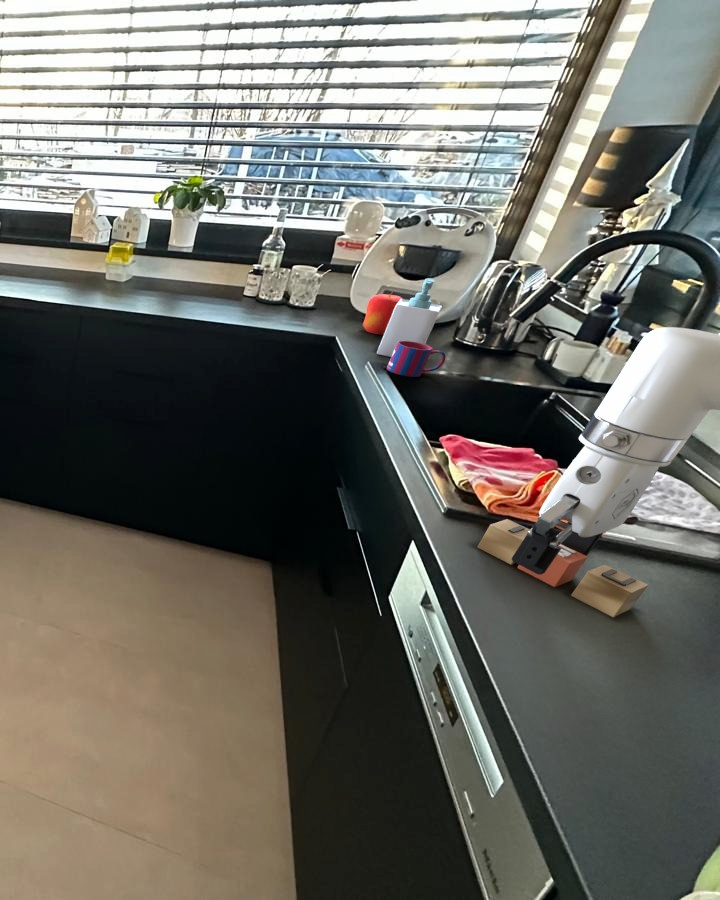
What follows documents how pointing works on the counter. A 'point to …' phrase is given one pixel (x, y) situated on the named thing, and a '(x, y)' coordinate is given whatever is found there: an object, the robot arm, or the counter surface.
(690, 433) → the robot arm
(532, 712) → the counter surface
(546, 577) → the block
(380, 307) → the apple
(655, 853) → the counter surface
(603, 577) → the block
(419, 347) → the mug
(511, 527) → the block
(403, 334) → the soap bottle
